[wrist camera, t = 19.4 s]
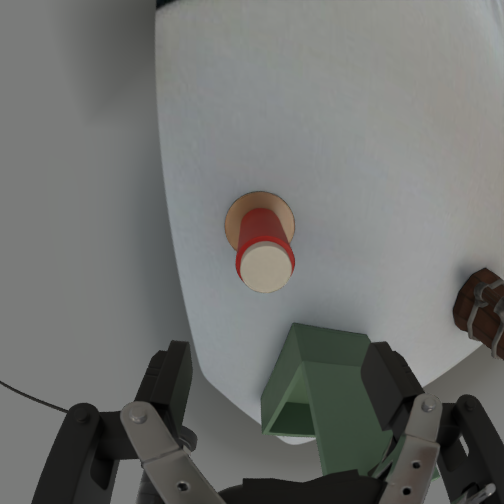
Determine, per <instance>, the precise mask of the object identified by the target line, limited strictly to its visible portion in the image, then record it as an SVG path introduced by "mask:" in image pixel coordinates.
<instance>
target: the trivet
mask: <svg viewBox="0 0 504 504" xmlns="http://www.w3.org/2000/svg"><path fill="white" fill-rule="evenodd" d="M256 208H266V209H269V210H271V211H272V212H274V213H275V214H276V215H277V216H278V218H279V220H280V222H281V225H282V227H283V230H284V232H285V234H286V237H287V239H288V242H289V244H290V242H291V240H292V238H293V235H294V231H295V221H294V216H293V213H292V211H291V209H290V208H289V206H288V205H287V204H286V203H285V201H283V200H282V199H281V198H280V197H278V196H276V195H274V194H272V193H269V192H263V191H257V192H251V193H248V194H245V195H243V196H241V197H240V198H239V199H237V200H236V201H235V202H234V203H233V204H232V206H231V207H230V209H229V211H228V213H227V216H226V220H225V233H226V237H227V239H228V241H229V243H230V245H231V246H232V247H233V248H234V249H235V250H236V251H237V247H238V240H239V233H240V226H241V221H242V219H243V217H244V216H245V215H246V214H247V213H248V212H249V211H251V210H253V209H256Z"/></svg>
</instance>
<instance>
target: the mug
mask: <svg viewBox="0 0 504 504" xmlns="http://www.w3.org/2000/svg"><path fill="white" fill-rule="evenodd" d="M453 314H454V319H455V324H456V326H457V327H458V328H459V329H460V330H463V331H466V332H468V336H469V338H470V339H473V340H476V341H481V342H482V343H483V344H485V345H486V346H487V347H488V348H490V349H491V350H492V353H491V354H492V357H493V358H497V359H503V360H504V280H502V279H501V278H500V277H499V276H497V275H496V274H494V273H493V272H491V271H490V270H488V269H487V268H485V269H483V270H481V271H479V272H477V273H475V274H472V276H471V277H470V278H469V280H468V281H467V282H466V284H465V285H464V286H463V288H462V289H461V290H460V292H459V295H458V298H457V301H456V304H455V307H454V310H453Z"/></svg>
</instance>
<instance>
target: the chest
mask: <svg viewBox="0 0 504 504" xmlns="http://www.w3.org/2000/svg"><path fill="white" fill-rule="evenodd" d="M370 343H371V341H370V339H369V338H368V336H367V335H365V334H358V333H351V332H344V331H338V330H332V329H326V328H320V327H314V326H308V325H303V324H297V323H293V324H292V327H291V329H290V332H289V334H288V337H287V339H286V342H285V344H284V346H283V349H282V351H281V354H280V356H279V358H278V361H277V363H276V365H275V367H274V370H273V372H272V374H271V377H270V379H269V381H268V383H267V386H266V388H265V390H264V392H263V394H262V396H261V421H262V434H265V435H266V434H267V435H277V436H291V437H316V435H315V430H314V425H313V420H312V415H311V410H310V405H309V400H308V395H307V390H306V386H305V381H304V376H303V371H302V366H301V365H302V363H303V361H311V362H319V363H328V364H337V365H347V366H358V367H361V366H362V363H363V360H364V358H365V355H366V352H367V349H368V346H369V344H370Z"/></svg>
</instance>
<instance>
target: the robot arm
mask: <svg viewBox="0 0 504 504" xmlns="http://www.w3.org/2000/svg"><path fill="white" fill-rule="evenodd" d="M192 373H193V369H192V360H191V351H190V344H189V342H186V341H174V340H172V341H171V343H170V346H169V348H168V351H161V350H159V351H158V352H157V353H156V354H155V355H154V356H153V357H152V358H151V361H150V363H149V366H148V368H147V370H146V373H145V375H144V378H143V380H142V382H141V385H140V388H139V390H138V393H137V395H136V397H135V400H134V402H131V403H129V404H127V405H126V406H124V407H123V409H122V410H121V411H116V412H99V411H98V410H97V408H96V407H95V406H93V405H91V404H88V403H79V404H76V405H74V406H72V407H71V408H70V409H69V411H68V410H65V409H63V408H60V407H57V406H54V405H52V404H49V403H47V402H44V401H41V400H39V399H36V398H34V397H31V396H29V395H27V394H25V393H22V392H20V391H18V390H16V389H14V388H12V387H10V386H8V385H7V384H5V383H3V382H1V381H0V384H2V385H3V386H5V387H7V388H9V389H11V390H12V391H14V392H16V393H18V394H20V395H23V396H25V397H27V398H29V399H32V400H34V401H36V402H39V403H42V404H44V405H46V406H49V407H51V408H54V409H57V410H59V411H62V412H65V413H67V415H66V417H65V419H64V421H63V423H62V426H61V428H60V430H59V432H58V434H57V437H56V439H55V441H54V444H53V446H52V448H51V451H50V453H49V456H48V458H47V461H46V463H45V466H44V469H43V471H42V474H41V477H40V479H39V482H38V485H37V488H36V491H35V494H34V497H33V500H32V503H31V504H110V501H111V496H112V491H113V487H114V483H115V478H116V474H117V470H118V466H119V462H120V460H124V459H125V460H126V459H140V461H141V467H142V468H143V469H144V470H143V475H142V478H141V483H140V487H139V491H138V495H137V499H136V503H135V504H423V503H424V500H425V497H426V494H427V492H428V488H429V486H430V483H431V479H432V476H433V473H434V469H435V466H436V462H437V464H438V467H439V470H440V472H441V475H442V478H443V481H444V484H445V487H446V490H447V493H448V497H449V500H450V503H451V504H504V444H503V442H502V441H501V439H500V437H499V435H498V433H497V431H496V429H495V427H494V426H493V424H492V422H491V420H490V419H489V417H488V415H487V413H486V412H485V410H484V408H483V407H482V405H481V403H480V402H479V400H478V399H477V398H476V397H474V396H472V395H467V394H466V395H462V396H461V397H459V399H458V400H457V402H456V403H441V401H440V400H439V398H438V397H436V396H435V395H432V394H429V393H425V392H424V391H423V388H422V387H421V385H420V383H419V382H418V380H417V378H416V377H415V375H414V374H413V372H412V370H411V369H410V367H409V366H408V364H407V362H406V361H405V359H404V357H402V356H401V355H400V354H399V353H397V352H396V351H392V349H391V348H390V346H389V344H388V343H387V342H386V341H384V342H373V343H370V344H369V346H368V349H367V352H366V355H365V358H364V360H363V363H362V366H361V371H360V374H361V380H362V382H363V385H364V387H365V389H366V392H367V394H368V397H369V399H370V402H371V404H372V407H373V409H374V411H375V414H376V417H377V419H378V422H379V424H380V427H381V429H382V432H383V431H388V430H392V432H393V434H392V435H391V437H390V439H389V442H388V444H387V447H386V449H385V451H384V454H383V456H382V458H381V460H380V462H379V465H378V467H377V468H376V470H375V472H374V473H373V474H372V476H371V477H370V476H364V475H359V473H358V469H353V470H348V471H342V472H336V473H331V474H328V475H325V476H322V477H319V478H317V479H314V480H311V481H308V482H303V483H302V482H293V481H286V480H280V479H273V478H265V479H264V478H261V479H253V478H250V479H249V478H243V484H242V485H237V486H233V487H229V488H227V489H224V490H222V491H220V492H218V493H217V492H216V491H215V489H214V488H213V487H212V486H211V485H210V483H209V482H208V481H207V480H206V478H205V477H204V476H203V474H202V473H201V472H200V471H199V469H198V468H197V467H196V465H195V464H194V463H193V461H192V460H191V459H190V457H189V455H191V451H190V448H191V445H190V443H189V442H188V441H187V440H186V439H184V438H183V437H181V436H180V432H181V427H182V422H183V417H184V412H185V408H186V404H187V399H188V395H189V390H190V386H191V381H192ZM462 435H463V437H464V440H465V442H466V444H467V446H468V448H469V454H468V457H467V455H466V453H465V450H464V448H463V446H462V444H461V442H460V440H459V438H460V437H461V436H462Z"/></svg>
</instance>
